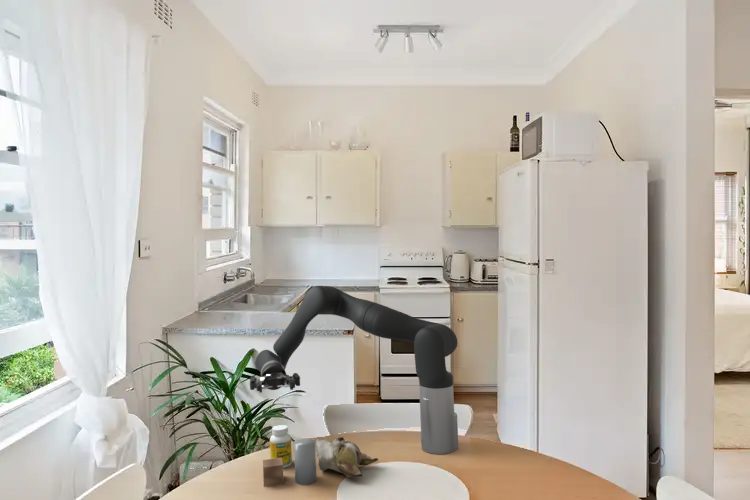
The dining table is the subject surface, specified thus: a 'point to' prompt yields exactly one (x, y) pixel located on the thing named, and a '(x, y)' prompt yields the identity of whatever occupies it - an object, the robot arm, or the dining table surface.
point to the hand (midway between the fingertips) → (276, 387)
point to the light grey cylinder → (305, 461)
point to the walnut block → (273, 472)
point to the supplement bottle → (281, 445)
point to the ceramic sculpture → (342, 457)
